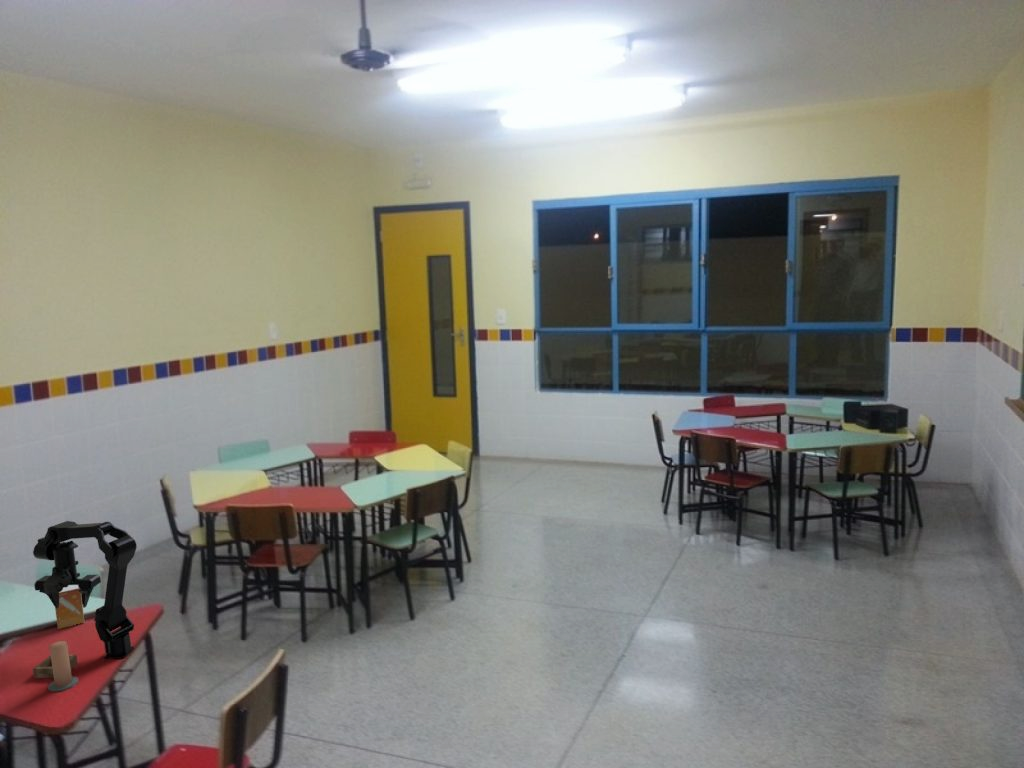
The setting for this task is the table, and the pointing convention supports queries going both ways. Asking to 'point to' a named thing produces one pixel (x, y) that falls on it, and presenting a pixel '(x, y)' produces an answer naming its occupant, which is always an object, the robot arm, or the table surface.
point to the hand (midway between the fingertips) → (71, 607)
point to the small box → (69, 607)
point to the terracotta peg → (60, 663)
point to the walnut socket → (50, 667)
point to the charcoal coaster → (57, 689)
